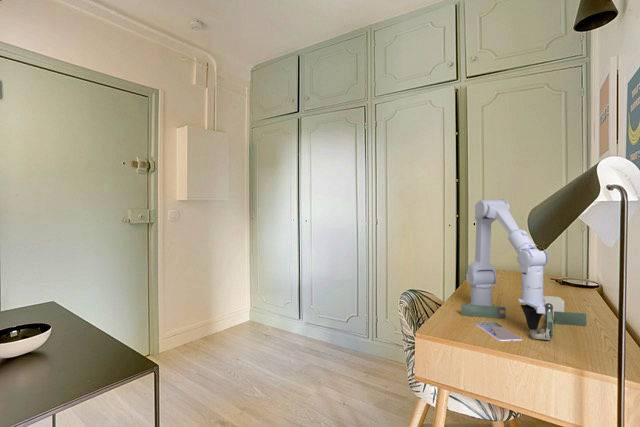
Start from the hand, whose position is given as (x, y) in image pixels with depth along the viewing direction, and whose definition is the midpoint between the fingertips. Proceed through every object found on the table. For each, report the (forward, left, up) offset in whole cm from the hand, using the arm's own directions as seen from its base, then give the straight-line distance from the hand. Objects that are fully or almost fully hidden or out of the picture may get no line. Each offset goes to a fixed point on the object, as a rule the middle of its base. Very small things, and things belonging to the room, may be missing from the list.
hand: (532, 329), depth 102 cm
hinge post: (-13, +14, -2) cm, 19 cm away
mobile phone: (0, -10, -2) cm, 10 cm away
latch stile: (-14, -12, -2) cm, 18 cm away
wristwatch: (+1, 0, 0) cm, 1 cm away
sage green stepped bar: (-5, +7, -1) cm, 8 cm away
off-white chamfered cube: (-24, +14, -2) cm, 28 cm away
